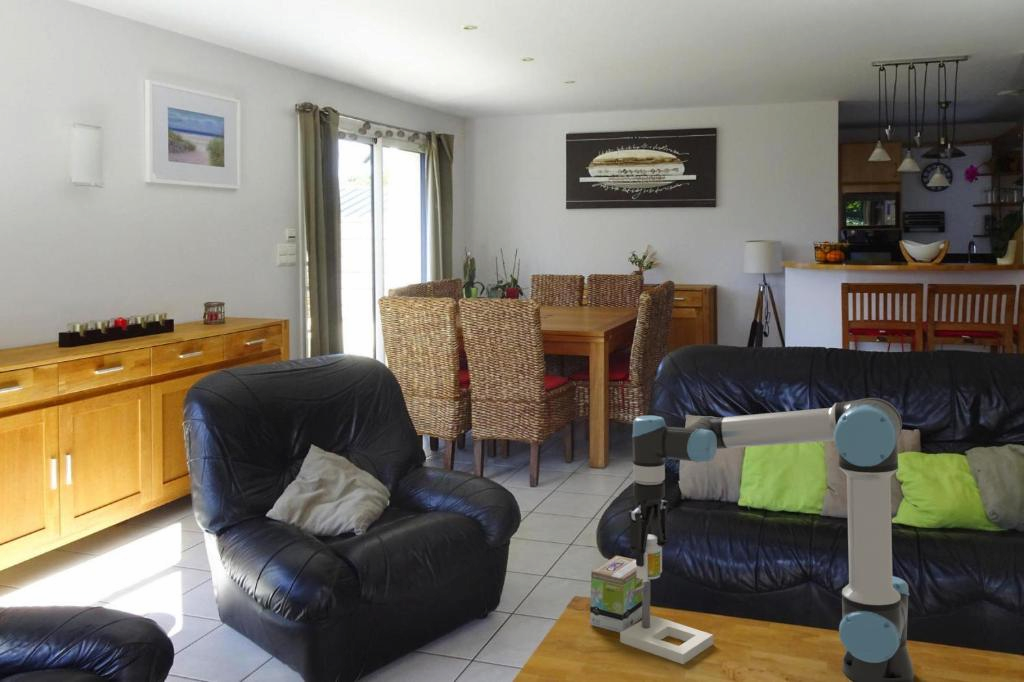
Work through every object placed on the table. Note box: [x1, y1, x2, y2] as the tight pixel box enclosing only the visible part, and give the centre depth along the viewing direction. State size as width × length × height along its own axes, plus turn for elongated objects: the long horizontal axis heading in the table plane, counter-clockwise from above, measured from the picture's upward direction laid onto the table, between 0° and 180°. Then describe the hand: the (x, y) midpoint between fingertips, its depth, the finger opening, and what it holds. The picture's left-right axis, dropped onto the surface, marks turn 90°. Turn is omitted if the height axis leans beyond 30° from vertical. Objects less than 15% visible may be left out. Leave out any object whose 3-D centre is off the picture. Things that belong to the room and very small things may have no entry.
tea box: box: [589, 555, 649, 633], centre depth 233 cm, size 15×10×15 cm, turn 147°
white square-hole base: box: [619, 579, 714, 665], centre depth 218 cm, size 18×14×14 cm
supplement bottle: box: [645, 533, 661, 580], centre depth 213 cm, size 5×5×10 cm
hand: (649, 574), depth 213 cm, fingers closed on supplement bottle, 5 cm apart
